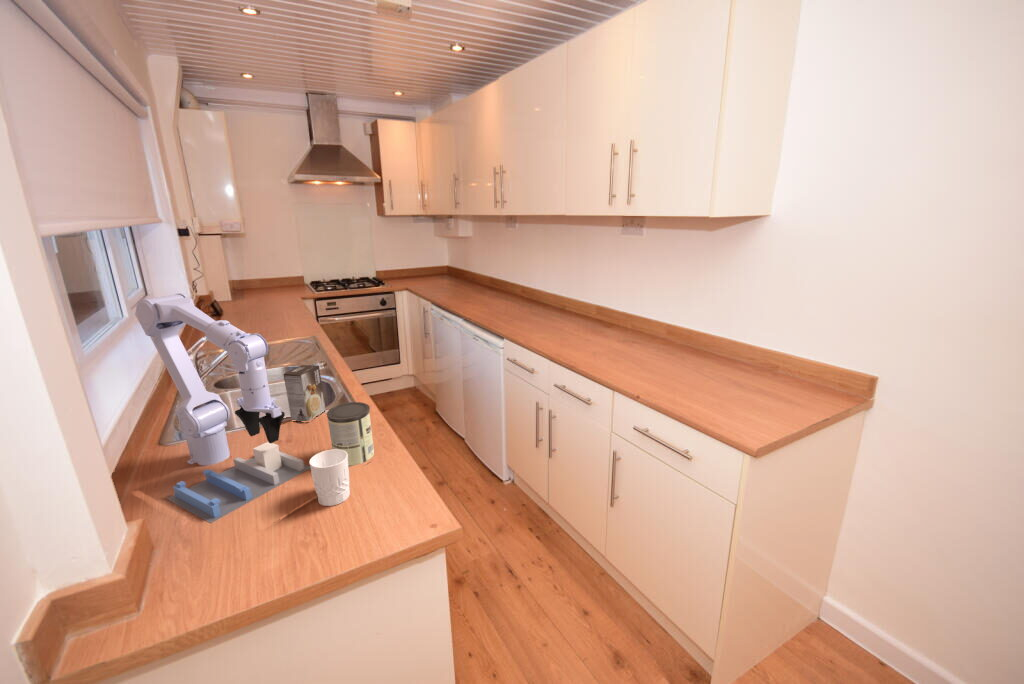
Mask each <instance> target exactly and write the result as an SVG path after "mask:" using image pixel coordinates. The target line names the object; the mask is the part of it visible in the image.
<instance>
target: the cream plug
mask: <svg viewBox="0 0 1024 684" xmlns="http://www.w3.org/2000/svg"><path fill="white" fill-rule="evenodd" d="M252 450H253V457H255V462H256V464H257V465H259V466H262V467H264V468H266V469H269V470H271V471H275V470H277V469H278V468H280V467H282V464H281V458H280V452H281V451H280V447H279V444H276V443H275V442H273V443H269V442H268V441H267V442H265V443H262V444H260V445H258V446H255V447H254V448H252ZM279 451H280V452H279Z"/></svg>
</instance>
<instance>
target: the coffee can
mask: <svg viewBox="0 0 1024 684" xmlns="http://www.w3.org/2000/svg"><path fill="white" fill-rule="evenodd" d="M370 410H371V408H370V405H369V404H367V403H366V402H359V401H351V402H344V403H339V404H337V405H335V406H333V407H331V408H330V409H328V410H327V412H326V418H327V422H328V429H329V435H330V437H329V438H330V441H331V448H332V449H340V450H344V451H346V452H347V454H348V467H351V466H358V465H361V464H364V463H366V462H368V461H369V462H368V463H366V464H364V465H363V467H365V466H366V465H369V464H370V463H371V461H370V460H371V459H372V458H373V457H374V455H375V449H374V447H375V446H374V440H373V433H372V432H373V431H372V422H371V415H370V413H371V412H370ZM332 449H331V450H332Z"/></svg>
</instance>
